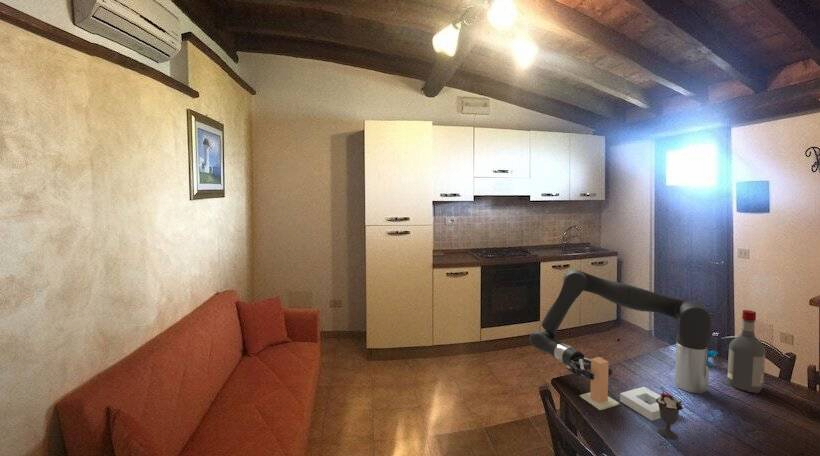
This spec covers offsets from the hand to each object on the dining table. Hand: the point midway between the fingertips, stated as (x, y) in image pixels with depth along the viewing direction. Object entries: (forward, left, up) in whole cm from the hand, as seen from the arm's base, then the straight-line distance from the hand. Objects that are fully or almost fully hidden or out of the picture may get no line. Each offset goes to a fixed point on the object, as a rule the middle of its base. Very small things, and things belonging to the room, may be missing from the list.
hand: (602, 375), depth 124 cm
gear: (-58, -27, -11) cm, 65 cm away
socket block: (-15, +3, -10) cm, 18 cm away
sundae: (-12, +17, -11) cm, 23 cm away
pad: (0, -1, -10) cm, 11 cm away
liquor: (-60, -9, -11) cm, 61 cm away
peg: (0, -1, -10) cm, 10 cm away
